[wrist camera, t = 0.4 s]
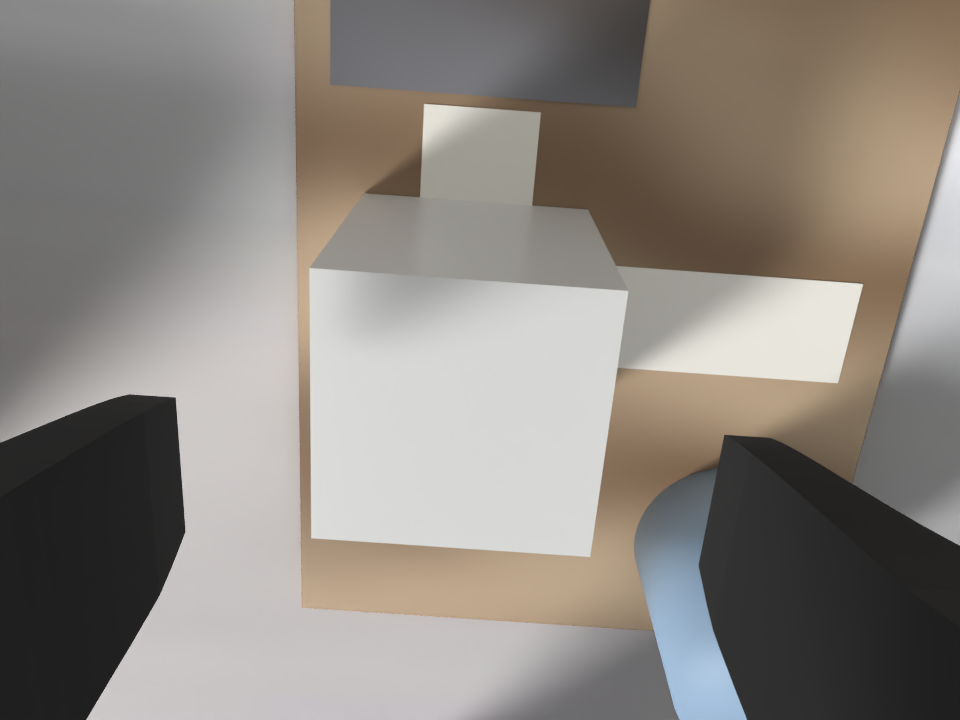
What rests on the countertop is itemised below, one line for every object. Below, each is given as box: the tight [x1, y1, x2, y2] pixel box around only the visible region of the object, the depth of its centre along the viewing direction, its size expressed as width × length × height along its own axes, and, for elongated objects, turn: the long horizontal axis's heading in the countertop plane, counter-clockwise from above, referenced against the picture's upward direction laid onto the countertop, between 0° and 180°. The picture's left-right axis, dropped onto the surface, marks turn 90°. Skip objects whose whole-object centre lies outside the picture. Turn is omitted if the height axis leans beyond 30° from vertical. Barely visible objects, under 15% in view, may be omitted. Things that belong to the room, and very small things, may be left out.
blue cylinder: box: [634, 468, 747, 720], centre depth 20 cm, size 4×4×5 cm
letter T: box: [420, 104, 863, 383], centre depth 20 cm, size 9×10×1 cm
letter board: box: [294, 0, 960, 631], centre depth 19 cm, size 23×14×1 cm, turn 176°
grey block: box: [309, 193, 628, 557], centre depth 17 cm, size 5×5×6 cm
